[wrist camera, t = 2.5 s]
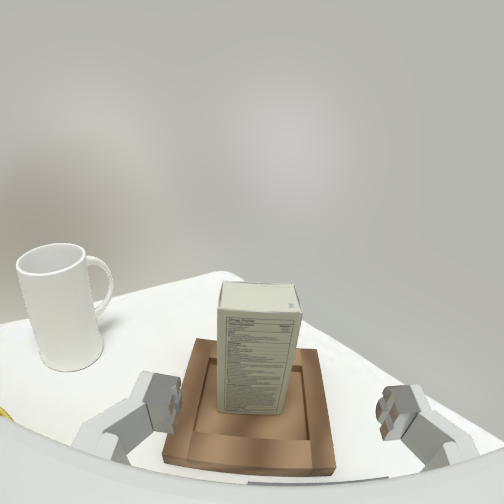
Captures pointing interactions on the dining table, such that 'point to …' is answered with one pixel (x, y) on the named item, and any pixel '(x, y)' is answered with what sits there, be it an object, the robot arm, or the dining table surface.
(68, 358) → the mug
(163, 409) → the robot arm
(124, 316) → the dining table surface
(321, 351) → the dining table surface
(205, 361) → the walnut tray
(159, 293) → the dining table surface
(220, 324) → the skincare box
